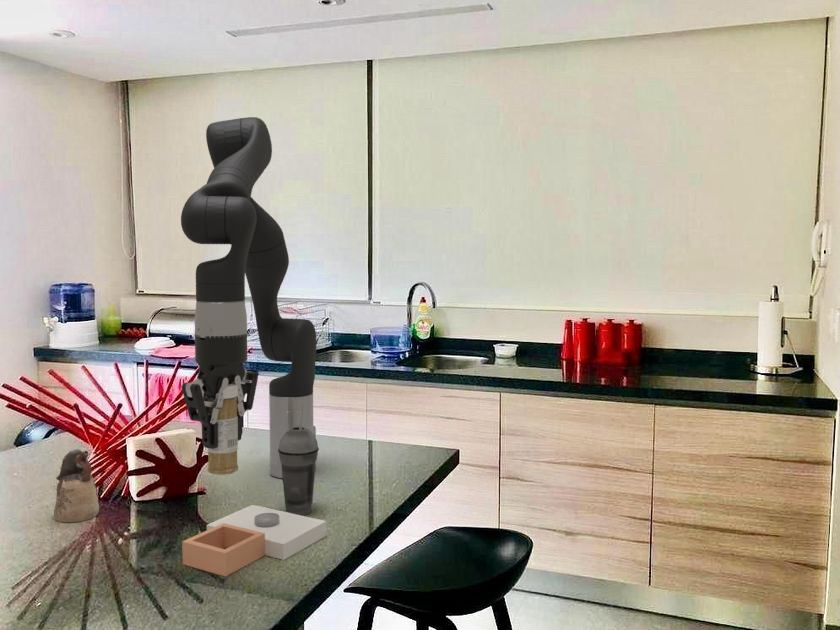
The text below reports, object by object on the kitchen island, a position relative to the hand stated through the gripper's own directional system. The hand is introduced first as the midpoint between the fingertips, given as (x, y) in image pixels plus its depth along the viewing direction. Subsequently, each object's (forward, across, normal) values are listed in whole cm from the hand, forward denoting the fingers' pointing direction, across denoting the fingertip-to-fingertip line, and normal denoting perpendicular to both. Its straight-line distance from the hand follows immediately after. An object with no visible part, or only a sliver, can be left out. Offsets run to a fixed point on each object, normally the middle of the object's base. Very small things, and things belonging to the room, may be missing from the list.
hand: (222, 443), depth 107 cm
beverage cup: (+18, -22, -3) cm, 29 cm away
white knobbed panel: (+18, -5, 0) cm, 19 cm away
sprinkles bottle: (+4, 0, 0) cm, 4 cm away
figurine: (+18, -1, -36) cm, 40 cm away
